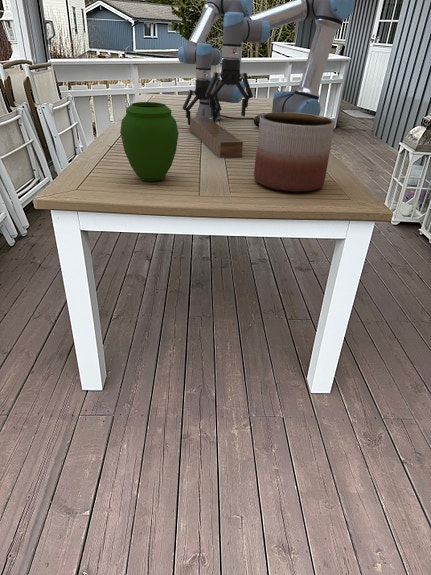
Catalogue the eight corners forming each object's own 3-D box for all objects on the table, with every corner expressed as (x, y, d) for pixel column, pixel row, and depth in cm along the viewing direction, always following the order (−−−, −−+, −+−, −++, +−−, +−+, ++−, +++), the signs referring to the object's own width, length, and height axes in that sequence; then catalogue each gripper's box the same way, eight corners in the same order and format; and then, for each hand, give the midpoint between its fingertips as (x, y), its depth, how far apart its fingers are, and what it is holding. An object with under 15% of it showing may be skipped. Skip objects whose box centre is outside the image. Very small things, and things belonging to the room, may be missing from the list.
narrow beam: (189, 129, 221) (189, 117, 217) (207, 129, 223) (207, 117, 220) (219, 157, 175) (220, 142, 171) (241, 157, 177) (242, 141, 174)
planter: (334, 194, 140) (348, 126, 129) (263, 195, 136) (271, 125, 125) (308, 172, 162) (318, 112, 150) (246, 172, 157) (251, 111, 146)
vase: (131, 189, 135) (125, 110, 122) (118, 172, 150) (112, 100, 137) (186, 184, 142) (187, 109, 129) (169, 168, 157) (167, 99, 144)
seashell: (267, 127, 236) (269, 112, 232) (270, 129, 231) (271, 114, 227) (251, 126, 235) (253, 111, 230) (253, 128, 230) (255, 113, 226)
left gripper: (180, 79, 196) (179, 126, 207) (229, 81, 203) (226, 126, 214) (176, 77, 202) (176, 123, 213) (224, 79, 209) (222, 123, 220)
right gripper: (203, 58, 156) (201, 117, 167) (263, 60, 163) (258, 117, 174) (198, 57, 162) (197, 114, 173) (257, 59, 169) (252, 114, 180)
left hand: (201, 124), depth 214 cm, fingers open, 13 cm apart
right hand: (228, 116), depth 174 cm, fingers open, 13 cm apart
